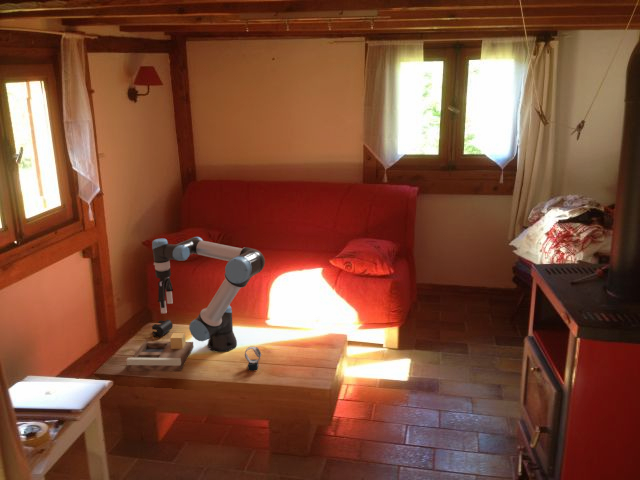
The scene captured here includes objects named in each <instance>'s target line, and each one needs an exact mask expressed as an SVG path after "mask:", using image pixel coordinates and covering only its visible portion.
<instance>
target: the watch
mask: <svg viewBox="0 0 640 480" xmlns="http://www.w3.org/2000/svg"><path fill="white" fill-rule="evenodd" d="M249 350H252V351H253V352H254V354H255V356H256V357H257V358H258V359H250V357H249V356H248V354H247V351H249ZM261 357H262V352H261V350H260V349H259V348H258V347H257V346H249V347H248V348H246V349H245V352H244V358H245V360H246V361H247V362H248V364H247V369H248V370H247V371H249V370H250V371H251V372H255V371H254V370H257V371H258V369H259V362H260V360H261ZM250 371H249V372H250Z"/></svg>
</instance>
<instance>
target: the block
mask: <svg viewBox="0 0 640 480" xmlns="http://www.w3.org/2000/svg"><path fill="white" fill-rule="evenodd" d="M169 342H171V349H183V347H184V345H185V344H186V342H187V341H186V334H185V332H173V333H172V334H171V336H170V341H169Z"/></svg>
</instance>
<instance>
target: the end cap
mask: <svg viewBox="0 0 640 480" xmlns="http://www.w3.org/2000/svg"><path fill="white" fill-rule="evenodd" d="M157 323H158V324H157ZM157 323H156V324H153V325H152V326H151V329H152V330H153V331H152V332H151V333H152V335H153V337H154V338H161V337H163V336H164V335H166V334H167V333H168V332H169V331H170V330H172V329H173V322H172V320H170V319H166V320H159V321H157Z"/></svg>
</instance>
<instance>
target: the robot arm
mask: <svg viewBox="0 0 640 480" xmlns="http://www.w3.org/2000/svg"><path fill="white" fill-rule="evenodd" d="M151 243H152V245H151V249H152V254H153V255H152V256H153V266H154V269H155V271H154V272H155V277H156V278H157V279H159V282H157V287H158V288H157V289H158V294H157V295H158V297H157V302H158V303H159V305H160V306H159V307H160V314H167V312H168V311H167V304H169V305H170V304H171V305H172V304H173V303H174V302H173V301H174V300H173V292H174V288H173V284H172V281H171V278H170V277H171V276H172V272H171V263H170V262H171V261H170V260H173V261H179V262H180V261H182V262H183V261H186V260H188V258H189V257H190V256H191V255H193V254H194V255H199V256H203V257H208V258H213V259H217V260H220V261H221V260H222V261H226V262H227V263H226V265H225V268H224V271H225V272H224V280H223V281H222V283H221V284H220V286H219V288H218V289H217V291H216V292H215V295H214V296H213V297H212V299H211V301H210V302H209V304H208V305H207V307H204V308H202V309H201V311H200V312H199V314H198V316H197V317H196V318H195V319H193V320H191V322H190V323H189V327H188V328H189V332H190V334H191V336H192V337H193V338H194V339H195V340H196V341H199V342H205V341H207V348H208V349H209V350H210V351H213V352H217V353H222V352H224V353H225V352H229V351H232V350H233V349H235V348H236V347H237V346H238V341H237V337H236V336H235V333H234V328H233V326H234V325H233V311H232V310H233V309H232V306H231V304H232V302H233V300H234V299H235V298H236V296H237V294H238V293H239V291H240V289H241V288H242V289H243V288H244V287H246V286H247V285H248V283H249V282H250V280H251V278H252V277H254V276H255V275H257V274H259V273H261V272H262V271H263V270H264V267H265V265H266V259H265V256H264V255H263V253H262V252H261V251H260V250H258V249H255V248H251V247H248V246H247V247H246V246H244V247H243V248H241V247H236V246H231V245H226V244H222V243H221V244H220V243H216V242H211V241H206V240H203V238H202V237H200V236H194V237H191V238H189V239H187V240H184V241H181V242H178V243H177V244H171V243H169V242H168V240H167V239H166V238H156V239H154V240H152V242H151Z"/></svg>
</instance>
